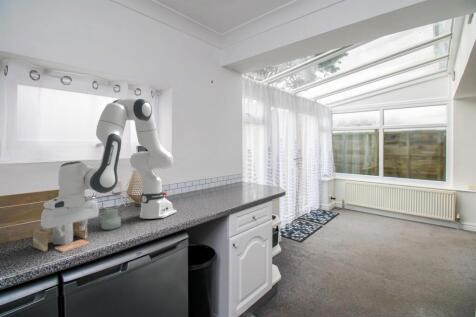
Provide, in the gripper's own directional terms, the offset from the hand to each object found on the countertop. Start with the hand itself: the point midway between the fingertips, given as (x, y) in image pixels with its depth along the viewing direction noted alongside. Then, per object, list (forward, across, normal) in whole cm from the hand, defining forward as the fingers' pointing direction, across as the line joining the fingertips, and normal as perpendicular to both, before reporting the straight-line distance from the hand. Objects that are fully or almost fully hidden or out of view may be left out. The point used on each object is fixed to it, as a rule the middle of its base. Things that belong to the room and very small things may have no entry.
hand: (72, 233), depth 94 cm
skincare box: (+6, 0, -8) cm, 10 cm away
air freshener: (+6, -22, -8) cm, 24 cm away
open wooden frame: (+6, 0, -8) cm, 10 cm away
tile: (+6, 0, 0) cm, 6 cm away
